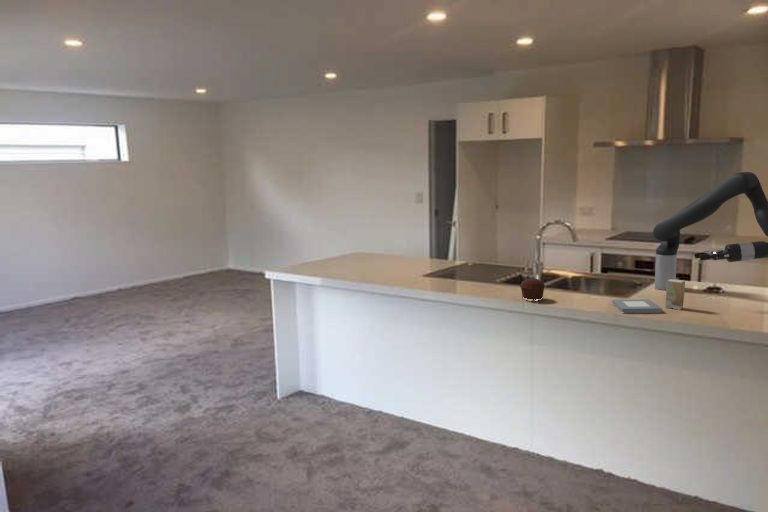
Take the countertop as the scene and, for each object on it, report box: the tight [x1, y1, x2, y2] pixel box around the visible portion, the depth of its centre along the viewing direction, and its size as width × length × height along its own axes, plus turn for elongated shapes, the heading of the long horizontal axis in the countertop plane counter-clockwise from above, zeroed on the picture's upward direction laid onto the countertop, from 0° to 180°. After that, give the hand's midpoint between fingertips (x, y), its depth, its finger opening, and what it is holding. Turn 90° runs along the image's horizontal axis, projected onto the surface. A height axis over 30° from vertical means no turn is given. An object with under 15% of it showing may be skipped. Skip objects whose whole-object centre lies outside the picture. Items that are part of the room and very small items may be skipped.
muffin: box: [519, 277, 546, 300], centre depth 276 cm, size 12×11×10 cm
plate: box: [611, 298, 663, 314], centre depth 254 cm, size 16×16×2 cm
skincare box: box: [664, 279, 686, 310], centre depth 252 cm, size 6×4×12 cm
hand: (697, 256), depth 249 cm, fingers open, 8 cm apart
